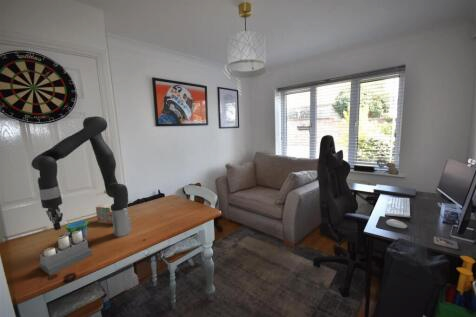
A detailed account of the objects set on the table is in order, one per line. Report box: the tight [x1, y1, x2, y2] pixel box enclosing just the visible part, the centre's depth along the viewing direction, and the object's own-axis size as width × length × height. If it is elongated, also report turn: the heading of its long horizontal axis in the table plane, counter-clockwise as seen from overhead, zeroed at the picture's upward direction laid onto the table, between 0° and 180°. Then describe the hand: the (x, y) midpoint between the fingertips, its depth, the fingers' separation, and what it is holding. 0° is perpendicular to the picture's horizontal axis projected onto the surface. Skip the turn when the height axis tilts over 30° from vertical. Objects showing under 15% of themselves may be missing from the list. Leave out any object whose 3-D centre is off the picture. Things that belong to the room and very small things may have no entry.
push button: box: [59, 231, 72, 243], centre depth 120 cm, size 7×5×10 cm
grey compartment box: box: [38, 238, 93, 276], centre depth 109 cm, size 18×12×8 cm, turn 150°
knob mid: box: [57, 236, 70, 251], centre depth 108 cm, size 4×4×6 cm
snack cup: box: [65, 220, 88, 242], centre depth 131 cm, size 16×10×10 cm
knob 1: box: [43, 247, 56, 258], centre depth 104 cm, size 4×4×6 cm
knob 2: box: [72, 231, 83, 245], centre depth 113 cm, size 4×4×6 cm
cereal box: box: [95, 203, 113, 225], centre depth 155 cm, size 21×6×12 cm, turn 76°
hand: (57, 229), depth 106 cm, fingers closed
